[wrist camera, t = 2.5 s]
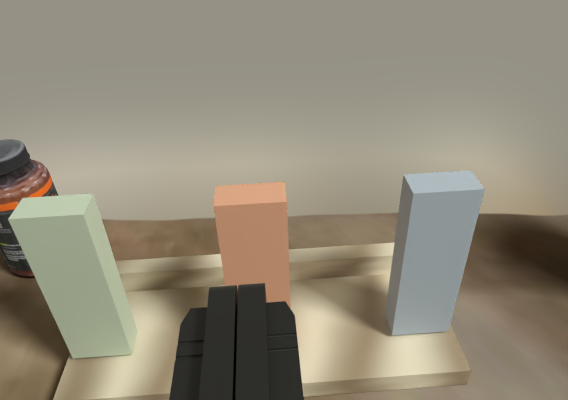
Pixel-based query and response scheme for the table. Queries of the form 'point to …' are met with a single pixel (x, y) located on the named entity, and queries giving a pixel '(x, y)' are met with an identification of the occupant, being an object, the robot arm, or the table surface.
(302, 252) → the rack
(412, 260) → the light blue tall bar
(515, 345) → the table surface
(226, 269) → the orange rectangular block
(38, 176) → the supplement bottle
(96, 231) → the pale green block
